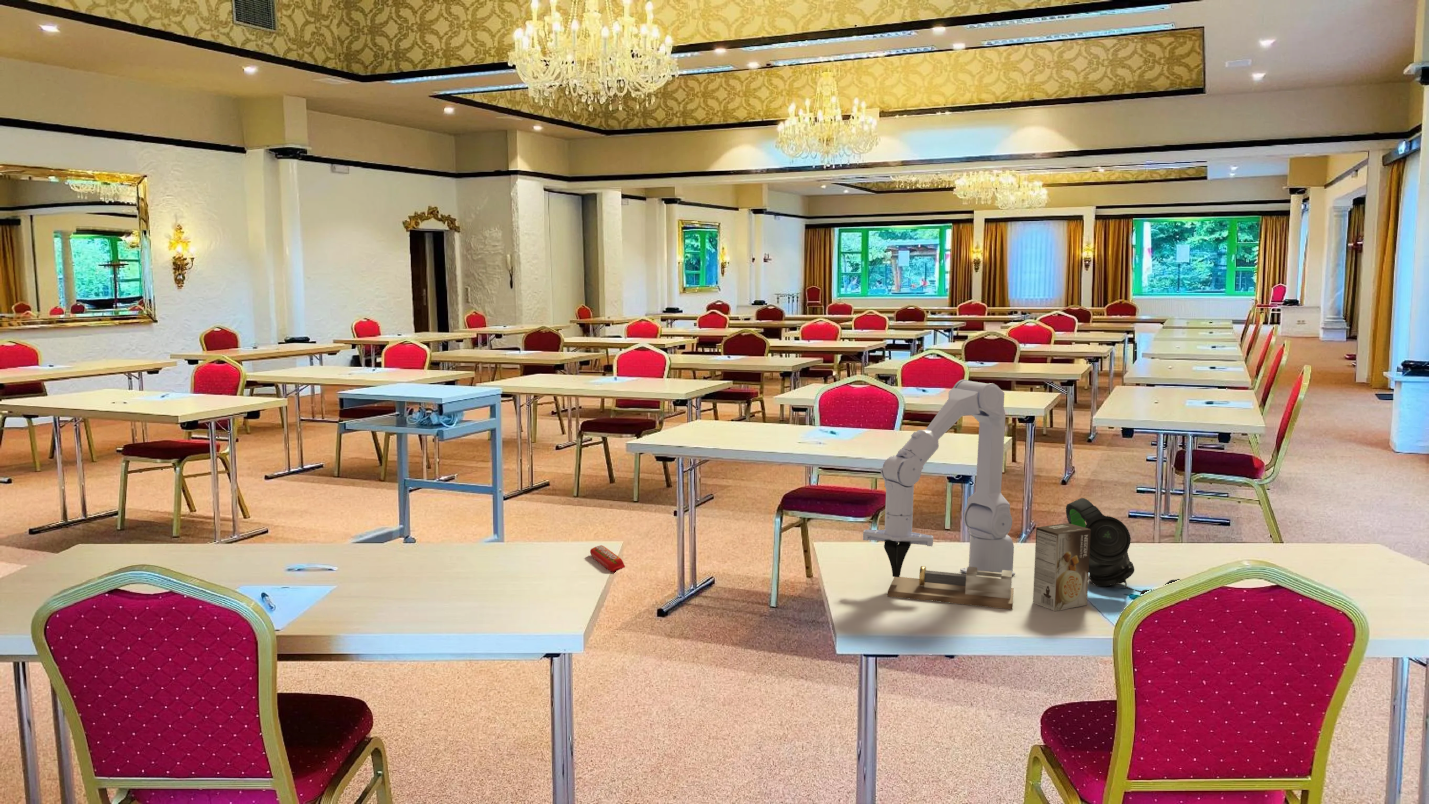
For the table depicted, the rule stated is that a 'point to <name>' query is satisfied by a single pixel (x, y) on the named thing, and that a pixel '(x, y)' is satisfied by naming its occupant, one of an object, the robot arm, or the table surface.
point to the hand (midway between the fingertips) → (896, 575)
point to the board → (961, 589)
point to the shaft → (941, 577)
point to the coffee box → (1061, 566)
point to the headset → (1104, 544)
